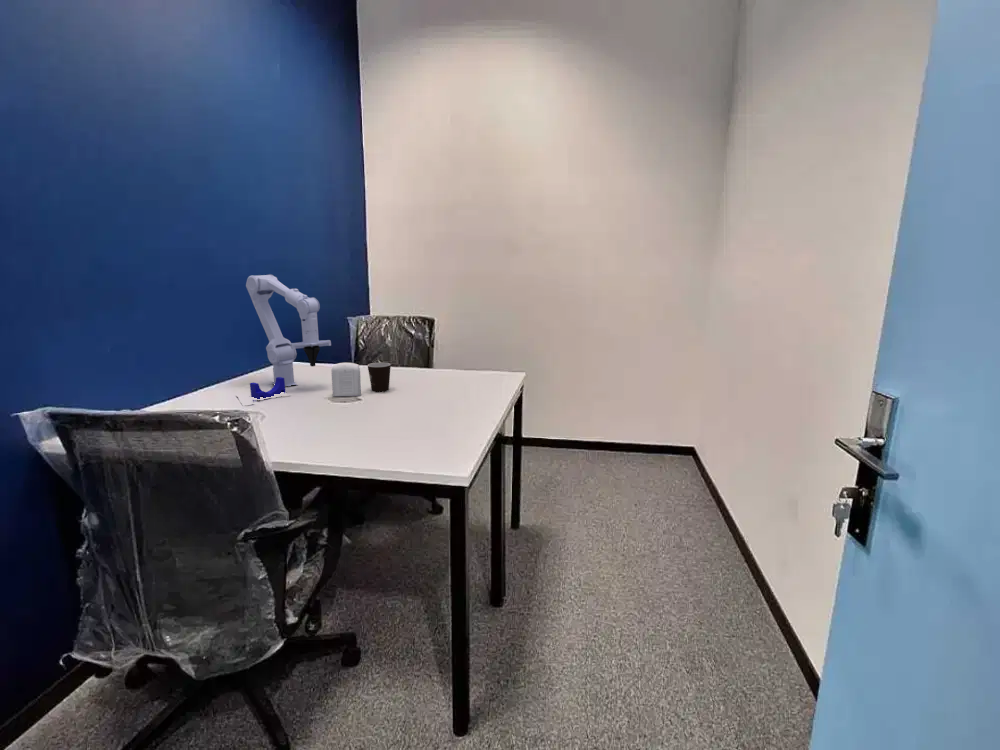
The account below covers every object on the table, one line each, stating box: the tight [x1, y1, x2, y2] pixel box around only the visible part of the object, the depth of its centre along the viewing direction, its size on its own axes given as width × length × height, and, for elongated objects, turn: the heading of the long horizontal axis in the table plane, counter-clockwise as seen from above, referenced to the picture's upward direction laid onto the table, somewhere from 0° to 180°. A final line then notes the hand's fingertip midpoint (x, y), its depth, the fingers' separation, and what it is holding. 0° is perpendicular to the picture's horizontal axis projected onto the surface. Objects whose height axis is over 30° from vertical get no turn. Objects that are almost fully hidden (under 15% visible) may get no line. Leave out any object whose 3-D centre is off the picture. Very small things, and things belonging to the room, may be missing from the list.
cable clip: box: [249, 377, 286, 399], centre depth 205 cm, size 12×4×6 cm, turn 145°
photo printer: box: [331, 362, 362, 397], centre depth 207 cm, size 10×4×12 cm, turn 98°
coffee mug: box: [367, 362, 392, 393], centre depth 216 cm, size 12×9×10 cm
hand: (312, 365), depth 214 cm, fingers closed
